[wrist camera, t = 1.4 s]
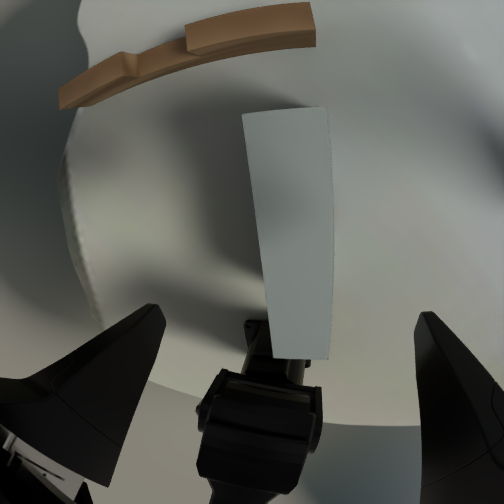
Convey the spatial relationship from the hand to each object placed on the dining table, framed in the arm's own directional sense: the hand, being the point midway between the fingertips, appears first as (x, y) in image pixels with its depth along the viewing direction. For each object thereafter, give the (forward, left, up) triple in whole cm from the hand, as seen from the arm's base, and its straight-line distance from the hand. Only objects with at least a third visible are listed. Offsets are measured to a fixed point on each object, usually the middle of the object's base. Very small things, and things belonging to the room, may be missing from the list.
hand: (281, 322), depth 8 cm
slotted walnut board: (+12, +8, -13) cm, 20 cm away
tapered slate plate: (-1, 0, -13) cm, 13 cm away
